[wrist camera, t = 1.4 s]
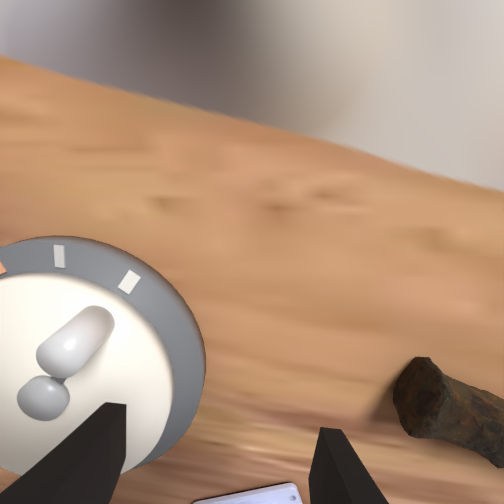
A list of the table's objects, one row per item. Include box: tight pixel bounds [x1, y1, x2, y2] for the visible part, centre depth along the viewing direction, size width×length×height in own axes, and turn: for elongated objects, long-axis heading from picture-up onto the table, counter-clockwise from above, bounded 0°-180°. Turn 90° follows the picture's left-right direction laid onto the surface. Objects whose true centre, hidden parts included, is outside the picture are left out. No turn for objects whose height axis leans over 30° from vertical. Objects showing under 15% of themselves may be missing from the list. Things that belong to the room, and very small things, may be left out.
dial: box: [0, 271, 175, 476], centre depth 15 cm, size 13×13×4 cm
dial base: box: [0, 236, 206, 470], centre depth 19 cm, size 16×16×2 cm
